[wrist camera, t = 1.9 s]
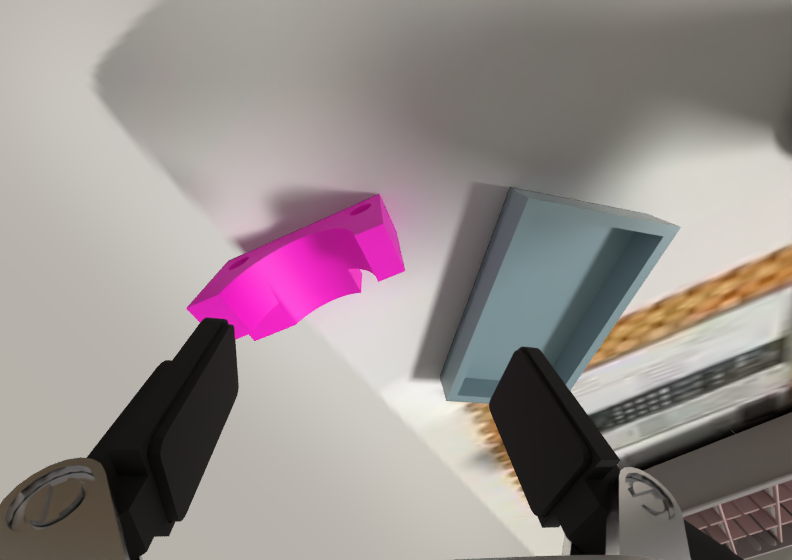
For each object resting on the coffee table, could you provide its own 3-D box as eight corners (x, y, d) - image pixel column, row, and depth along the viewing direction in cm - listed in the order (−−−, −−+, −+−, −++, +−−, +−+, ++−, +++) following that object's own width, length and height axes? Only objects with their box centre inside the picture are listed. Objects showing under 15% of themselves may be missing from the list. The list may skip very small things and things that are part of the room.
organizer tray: (585, 480, 53) (626, 552, 45) (851, 372, 44) (969, 438, 35) (630, 536, 68) (668, 599, 59) (838, 464, 58) (920, 527, 50)
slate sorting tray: (647, 214, 29) (680, 227, 26) (543, 385, 40) (558, 408, 37) (510, 187, 26) (528, 198, 23) (439, 376, 37) (446, 400, 34)
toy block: (268, 311, 31) (242, 366, 24) (228, 260, 28) (186, 308, 21) (406, 254, 29) (417, 298, 22) (379, 193, 26) (383, 223, 19)
